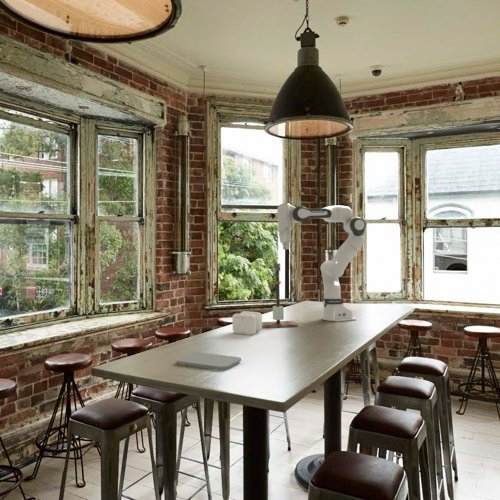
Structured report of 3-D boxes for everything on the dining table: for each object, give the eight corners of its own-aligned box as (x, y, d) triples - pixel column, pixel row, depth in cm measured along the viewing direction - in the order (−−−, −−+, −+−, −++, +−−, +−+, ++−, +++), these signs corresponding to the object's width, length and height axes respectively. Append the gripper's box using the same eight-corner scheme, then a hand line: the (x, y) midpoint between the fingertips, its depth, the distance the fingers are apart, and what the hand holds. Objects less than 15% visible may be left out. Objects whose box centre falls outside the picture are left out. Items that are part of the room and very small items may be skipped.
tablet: (225, 372, 185) (225, 367, 185) (173, 365, 197) (173, 360, 197) (243, 362, 200) (243, 357, 200) (194, 356, 212) (194, 351, 212)
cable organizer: (263, 332, 262) (263, 312, 262) (253, 336, 253) (253, 315, 253) (241, 330, 270) (241, 310, 270) (231, 333, 261) (231, 313, 261)
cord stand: (292, 323, 291) (292, 262, 290) (298, 326, 278) (297, 263, 277) (259, 324, 288) (258, 263, 287) (262, 328, 275) (261, 264, 274)
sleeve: (279, 318, 286) (279, 305, 286) (283, 319, 281) (283, 306, 281) (272, 319, 284) (272, 306, 284) (276, 320, 279) (276, 307, 279)
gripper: (293, 226, 287) (294, 248, 287) (286, 229, 307) (287, 249, 307) (283, 227, 286) (284, 249, 286) (277, 229, 306) (278, 249, 306)
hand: (286, 249), depth 297 cm, fingers open, 8 cm apart
